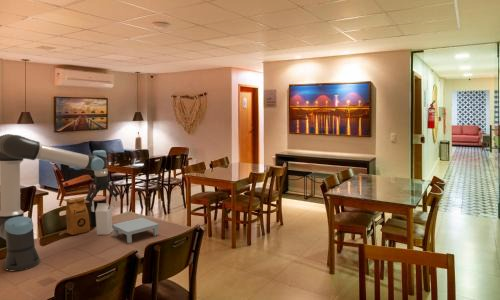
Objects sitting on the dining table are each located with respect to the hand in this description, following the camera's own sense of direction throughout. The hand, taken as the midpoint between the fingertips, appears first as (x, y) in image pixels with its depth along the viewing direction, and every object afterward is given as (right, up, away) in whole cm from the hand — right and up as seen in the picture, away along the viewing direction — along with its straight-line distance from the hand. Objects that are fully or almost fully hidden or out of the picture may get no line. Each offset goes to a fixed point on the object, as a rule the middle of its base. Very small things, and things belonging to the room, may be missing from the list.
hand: (103, 209), depth 227 cm
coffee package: (-17, -16, +3) cm, 23 cm away
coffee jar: (-11, -14, +20) cm, 27 cm away
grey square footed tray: (+21, -16, -4) cm, 27 cm away
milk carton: (0, -15, +2) cm, 16 cm away
